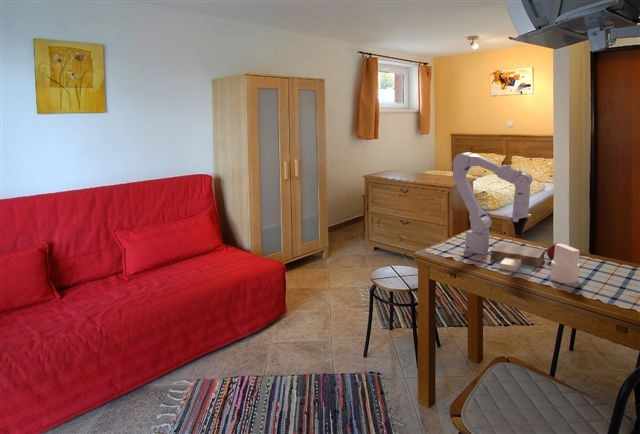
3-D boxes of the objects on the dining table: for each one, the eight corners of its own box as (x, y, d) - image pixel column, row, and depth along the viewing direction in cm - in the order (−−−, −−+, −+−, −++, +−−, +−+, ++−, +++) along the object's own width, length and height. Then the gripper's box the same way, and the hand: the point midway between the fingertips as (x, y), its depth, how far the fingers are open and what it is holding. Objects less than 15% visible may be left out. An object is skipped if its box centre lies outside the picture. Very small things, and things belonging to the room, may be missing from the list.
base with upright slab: (583, 281, 158) (587, 249, 156) (561, 284, 157) (565, 252, 154) (565, 273, 167) (568, 242, 164) (544, 275, 165) (547, 244, 162)
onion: (561, 264, 175) (563, 245, 174) (545, 262, 178) (547, 243, 177) (562, 260, 180) (564, 241, 178) (546, 258, 183) (548, 239, 181)
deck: (490, 259, 184) (491, 250, 183) (498, 251, 193) (499, 243, 192) (537, 267, 173) (538, 257, 172) (543, 259, 182) (544, 249, 182)
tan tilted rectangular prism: (499, 268, 173) (499, 263, 172) (505, 261, 180) (505, 257, 179) (515, 271, 169) (516, 266, 169) (521, 264, 176) (521, 259, 176)
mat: (491, 267, 174) (491, 267, 174) (498, 260, 182) (498, 260, 182) (529, 274, 166) (529, 274, 166) (535, 267, 174) (535, 266, 174)
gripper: (527, 207, 171) (524, 241, 174) (536, 201, 182) (533, 232, 186) (508, 205, 175) (505, 238, 179) (518, 199, 186) (515, 230, 190)
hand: (518, 235), depth 182 cm, fingers closed
